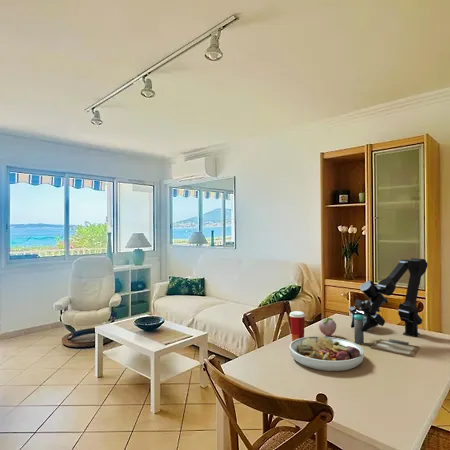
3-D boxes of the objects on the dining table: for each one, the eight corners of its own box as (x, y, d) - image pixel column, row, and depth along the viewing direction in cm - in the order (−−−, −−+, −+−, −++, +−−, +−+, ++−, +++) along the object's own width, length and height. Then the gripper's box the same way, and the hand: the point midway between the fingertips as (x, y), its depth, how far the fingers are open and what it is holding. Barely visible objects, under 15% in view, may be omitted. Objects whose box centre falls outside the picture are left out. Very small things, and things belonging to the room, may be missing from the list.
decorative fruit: (322, 332, 174) (322, 313, 175) (338, 335, 170) (337, 315, 170) (316, 337, 167) (315, 317, 167) (332, 340, 162) (331, 320, 162)
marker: (356, 340, 160) (355, 314, 161) (365, 342, 158) (364, 315, 158) (353, 343, 157) (352, 315, 158) (362, 345, 155) (361, 317, 155)
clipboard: (380, 340, 161) (380, 337, 161) (419, 347, 149) (419, 344, 149) (370, 348, 150) (370, 344, 150) (412, 357, 139) (412, 353, 139)
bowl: (276, 361, 138) (275, 342, 139) (310, 342, 160) (310, 326, 161) (346, 382, 118) (345, 360, 118) (374, 357, 140) (374, 338, 140)
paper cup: (304, 338, 165) (304, 310, 165) (307, 344, 157) (306, 314, 158) (289, 338, 166) (288, 310, 166) (290, 343, 158) (289, 314, 158)
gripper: (351, 290, 168) (333, 314, 164) (379, 296, 151) (360, 323, 147) (364, 304, 171) (347, 328, 167) (393, 312, 153) (375, 339, 149)
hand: (356, 329), depth 157 cm, fingers open, 7 cm apart
